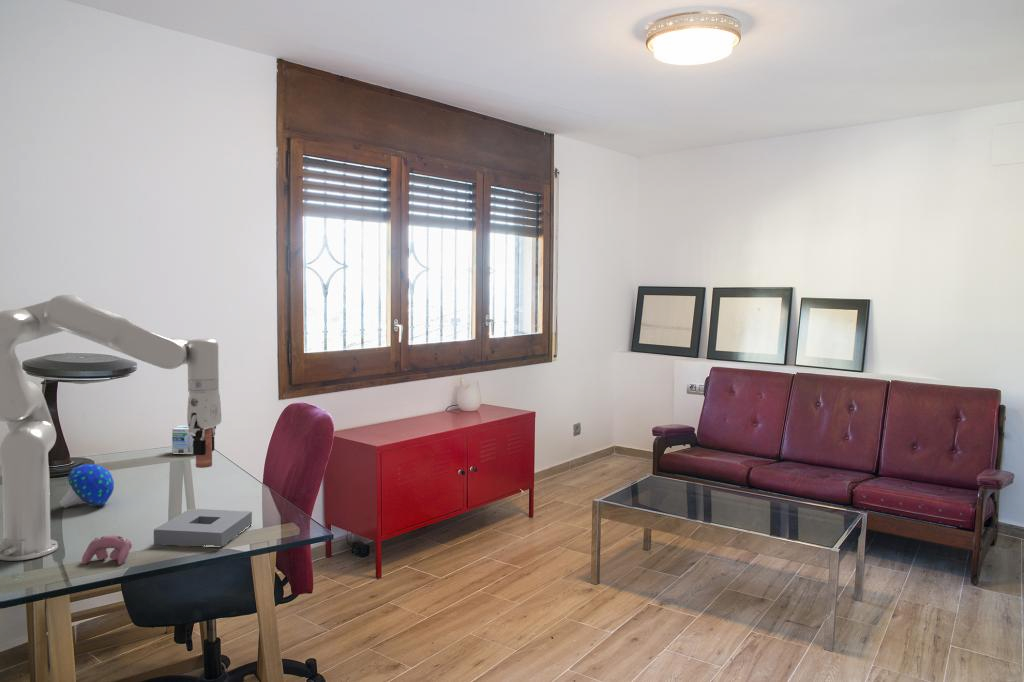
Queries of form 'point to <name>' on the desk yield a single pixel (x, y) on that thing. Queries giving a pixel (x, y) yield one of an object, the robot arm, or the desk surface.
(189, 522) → the socket plate
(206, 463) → the dowel
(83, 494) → the mushroom
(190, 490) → the desk surface
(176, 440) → the light bulb box
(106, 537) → the video game controller
